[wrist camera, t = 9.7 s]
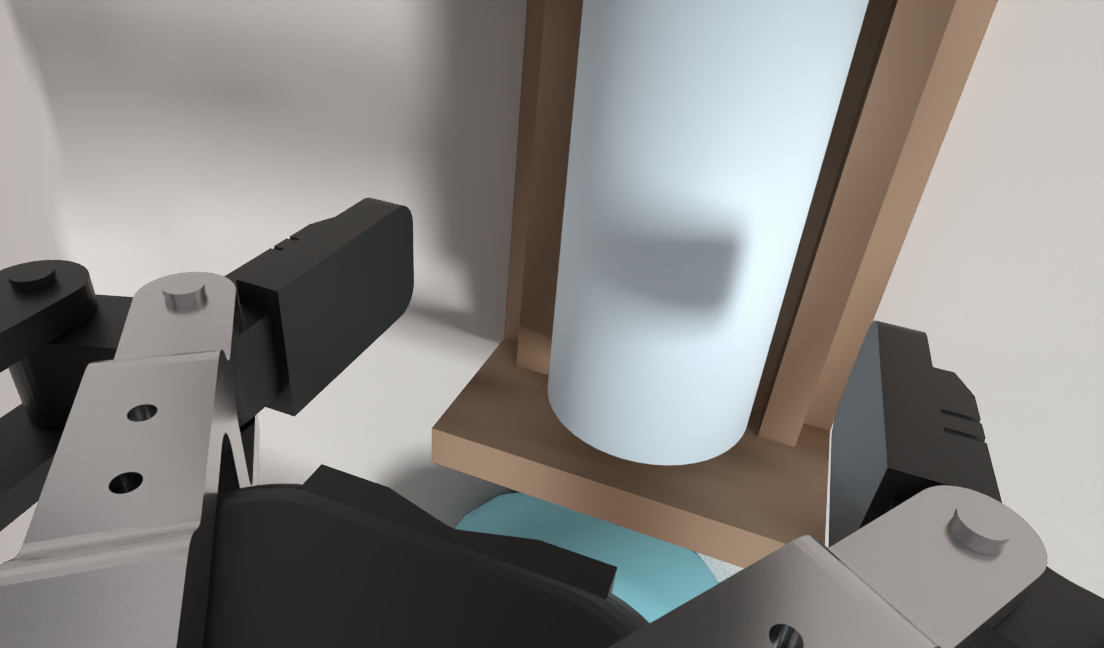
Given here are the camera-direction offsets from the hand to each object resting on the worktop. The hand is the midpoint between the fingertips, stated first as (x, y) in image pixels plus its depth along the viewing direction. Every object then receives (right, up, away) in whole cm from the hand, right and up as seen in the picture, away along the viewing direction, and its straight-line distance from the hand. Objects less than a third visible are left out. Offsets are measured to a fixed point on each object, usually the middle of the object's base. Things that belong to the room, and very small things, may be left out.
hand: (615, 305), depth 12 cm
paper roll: (+2, +2, +4) cm, 5 cm away
